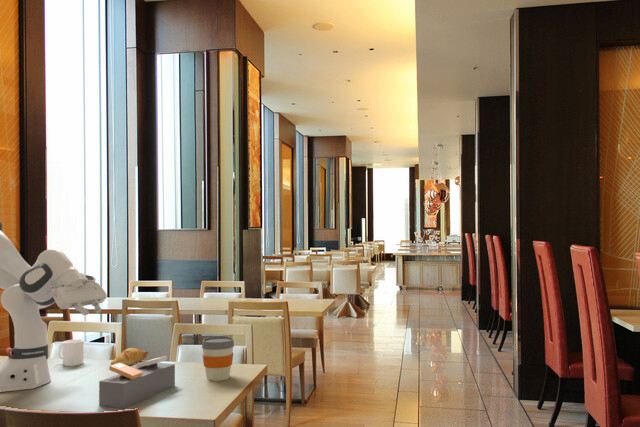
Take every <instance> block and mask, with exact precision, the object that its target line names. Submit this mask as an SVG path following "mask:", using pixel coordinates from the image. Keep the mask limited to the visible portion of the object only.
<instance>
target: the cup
mask: <svg viewBox="0 0 640 427" xmlns="http://www.w3.org/2000/svg"><path fill="white" fill-rule="evenodd" d="M84 341H85V340H84V339H77V338H75V339H68V340H64V341H63V342H62V343H61V344H59V345H60V346H59V348H58V356H59V358H60V359H61V360H62V365H63V366H65V367H74V366H75V365H77V366H81V365H83V363H84V354H85V352H84V351H85V350H84V348H85V347H84V344H85V342H84ZM80 364H81V365H80ZM75 367H76V366H75Z"/></svg>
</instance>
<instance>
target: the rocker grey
mask: <svg viewBox="0 0 640 427" xmlns="http://www.w3.org/2000/svg"><path fill="white" fill-rule="evenodd" d="M167 360H168V356H167V355H164V356H160V357H156V358H152V359H151V358H150V359H148V360H142V361H141V362H139V363H137V364H135V365H137V368H138V367H142V366H147V365H151V364H155V363H163V362H164V361H167Z"/></svg>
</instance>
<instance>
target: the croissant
mask: <svg viewBox="0 0 640 427" xmlns="http://www.w3.org/2000/svg"><path fill="white" fill-rule="evenodd" d="M148 353H149V352H148V351H146V350H141V349H139V348H138V347H129V348H126V349H124V350H122V351H121V353H119V354H118V355H117V357H115V358H113V361H110V366H111V365H114V364H117V363H122V364H125V365H127V366H133V365H136V364H138V363H140V362H139V361H141V362H143V361H144V359H146V358H147V356H148Z"/></svg>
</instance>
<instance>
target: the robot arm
mask: <svg viewBox="0 0 640 427" xmlns="http://www.w3.org/2000/svg"><path fill="white" fill-rule="evenodd" d="M2 230H3V223H2V221H1V220H0V289H2V290H3V292H2V293H1V296H0V303H1V306H2V307H3V309H4V310H6V311H7V312H8V314H9V315H10V317H11V321H12V323H13V328H14V330H13V331H14V347H13V348H11V347H7V348H6V354H8V358H7V359H6V360H5V361H3V362H2V363H1V364H0V393H3V392H12V391H13V392H14V391H22V390H31V389H36V388H38V387H41V386H43V385H47V384H49V383H50V382H52V378H51V375H50V370H49V362H48V360H49V345H48V325H47V323H46V322H45V321H43V319H42V316H41V314H40V309H44V308H47V307H50V306H51V305H53V304H55V303H56V305H57V307H58V308H59V309H60V310H66V309H74V310H75V311H77V312H79V313H81V314H82V316H88V314H89V312H90V311H89V309H88V308H85V306H92V307H94V309H93V311H94V313H95V314H99V313H101V312H102V310H103V309H102V308H101V306H100V304H102V303H104V302H105V300H106V299H107V296H108V294H107V292H106V291H105V290H104V288H103V287H102V286H101V285H100V284H99V282H96V277H94V276H92V275H88V274H84V273H81V272H80V271H79V270H78V269H77V268H75V267H74V265H73V263H72V261H71V260H70V258H69V257H68V256H67V255H66V253H64V252H63V251H61V250H60V249H57V248H48V249H46V250H43V251H42V252H41V253H39V255H38V256H37V259H36V261H35V262H34V264H33V265H32V266H31V265H30V264H29V263H28V262H27V261H26V260H25V259H24V258H23V256H22V255H21V254H20V253H19V251H18V249H17V248H16V247H15V245H14V243H13V242H12V241H11V239H10V238H9V237H8V236H7V235H6V234H5V232H4V231H2Z"/></svg>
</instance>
